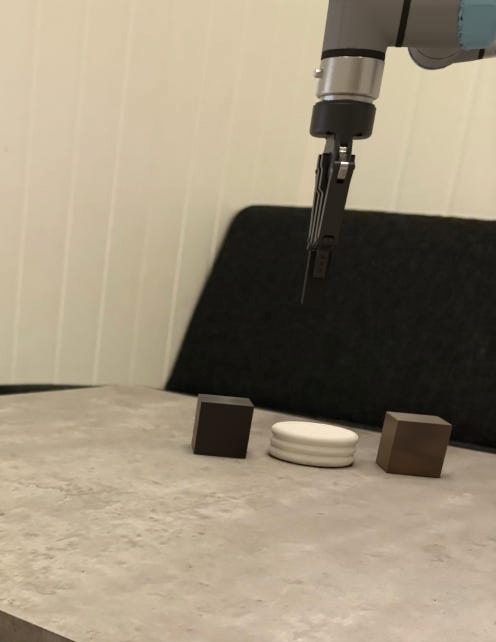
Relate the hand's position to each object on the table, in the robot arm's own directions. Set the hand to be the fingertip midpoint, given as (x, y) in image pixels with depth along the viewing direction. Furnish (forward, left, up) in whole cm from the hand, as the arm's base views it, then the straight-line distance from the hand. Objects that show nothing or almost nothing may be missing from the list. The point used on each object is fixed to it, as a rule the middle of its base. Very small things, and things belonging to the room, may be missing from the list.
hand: (312, 304), depth 132 cm
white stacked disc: (0, +20, -16) cm, 26 cm away
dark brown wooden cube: (-11, +21, -16) cm, 29 cm away
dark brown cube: (+11, +21, -16) cm, 29 cm away
